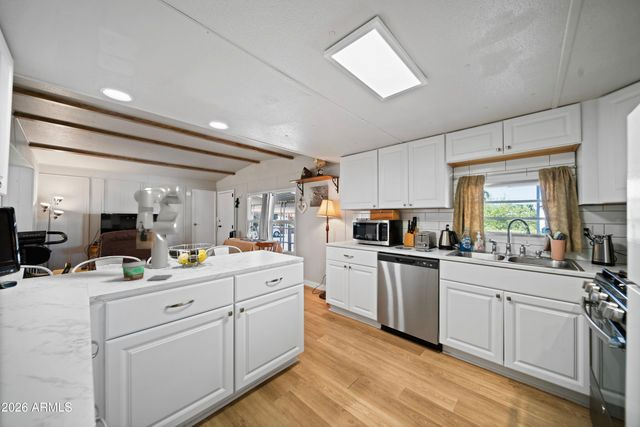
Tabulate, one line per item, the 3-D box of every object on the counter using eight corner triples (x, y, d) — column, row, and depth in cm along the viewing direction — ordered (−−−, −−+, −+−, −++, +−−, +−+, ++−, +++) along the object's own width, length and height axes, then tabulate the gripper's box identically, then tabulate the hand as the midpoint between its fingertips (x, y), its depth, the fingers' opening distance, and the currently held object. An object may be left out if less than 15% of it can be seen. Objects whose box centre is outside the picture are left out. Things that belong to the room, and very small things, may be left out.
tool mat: (154, 276, 136) (154, 275, 136) (172, 276, 138) (172, 274, 138) (147, 281, 128) (147, 279, 128) (165, 280, 129) (165, 278, 130)
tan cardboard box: (139, 248, 141) (139, 231, 141) (154, 247, 142) (154, 231, 143) (136, 248, 137) (136, 232, 137) (151, 248, 139) (151, 231, 139)
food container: (130, 282, 125) (130, 263, 125) (121, 281, 126) (121, 263, 126) (151, 276, 137) (151, 259, 137) (142, 276, 138) (143, 259, 138)
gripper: (145, 210, 147) (145, 239, 147) (130, 209, 131) (130, 242, 131) (159, 210, 149) (158, 239, 149) (146, 210, 133) (145, 242, 133)
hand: (145, 240), depth 140 cm, fingers closed on tan cardboard box, 3 cm apart
